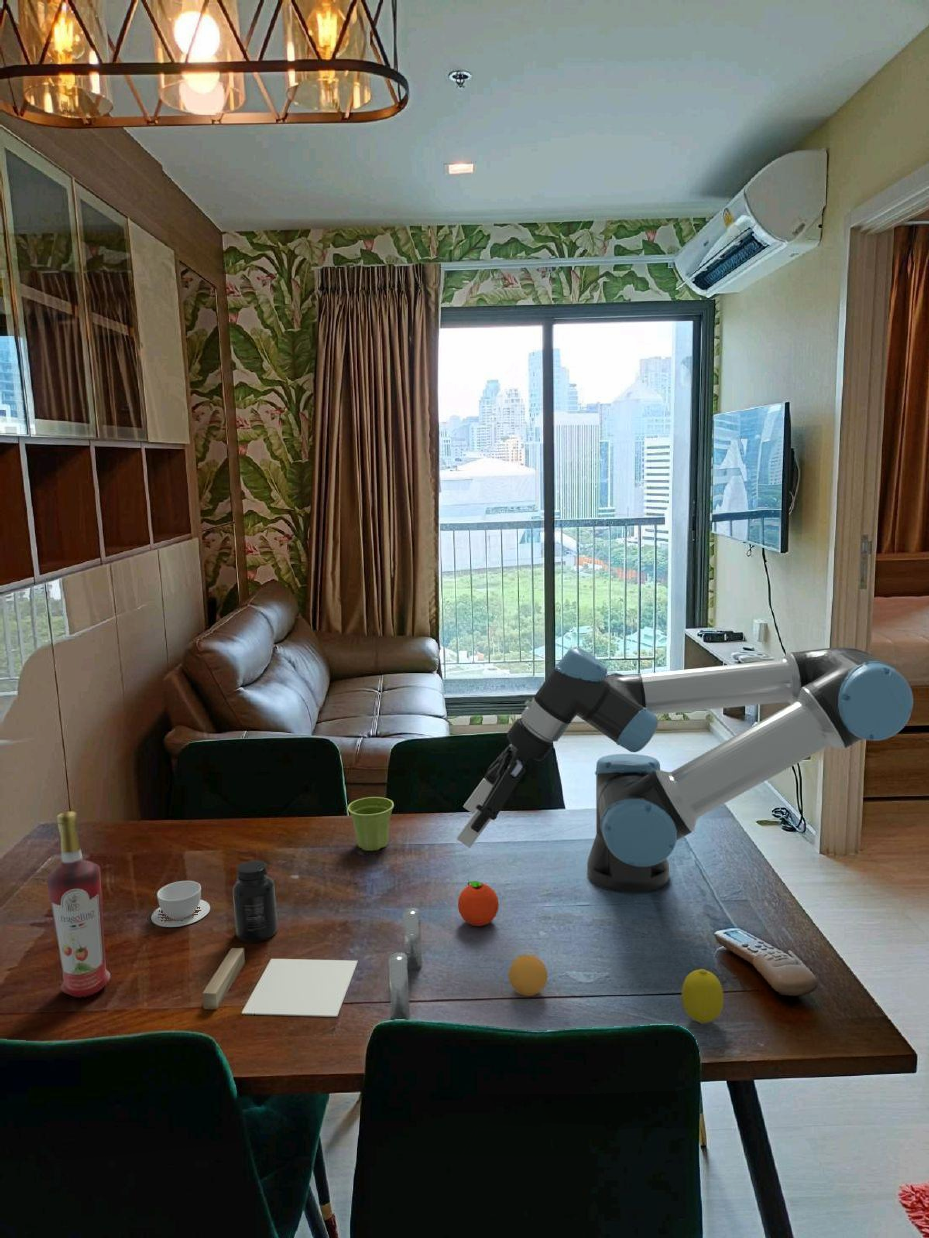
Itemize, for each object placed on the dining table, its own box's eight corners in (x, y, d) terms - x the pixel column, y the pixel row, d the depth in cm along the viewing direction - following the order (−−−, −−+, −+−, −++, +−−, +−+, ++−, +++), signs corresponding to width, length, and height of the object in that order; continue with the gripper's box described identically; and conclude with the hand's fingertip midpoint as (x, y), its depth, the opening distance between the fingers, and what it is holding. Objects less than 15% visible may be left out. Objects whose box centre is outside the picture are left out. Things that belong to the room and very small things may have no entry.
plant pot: (393, 854, 176) (391, 813, 174) (346, 855, 176) (344, 814, 174) (397, 835, 185) (395, 796, 183) (353, 836, 185) (351, 797, 184)
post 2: (423, 960, 137) (420, 907, 136) (420, 970, 135) (418, 916, 133) (406, 960, 137) (404, 907, 136) (404, 969, 135) (401, 916, 133)
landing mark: (357, 961, 138) (357, 960, 138) (337, 1016, 124) (337, 1015, 124) (271, 959, 139) (271, 958, 139) (241, 1013, 125) (241, 1012, 125)
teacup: (222, 907, 157) (220, 882, 156) (182, 934, 148) (180, 908, 147) (179, 897, 161) (177, 873, 160) (138, 922, 152) (136, 897, 151)
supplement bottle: (285, 925, 149) (280, 860, 147) (263, 946, 143) (258, 878, 141) (250, 920, 151) (245, 855, 149) (228, 940, 145) (222, 873, 143)
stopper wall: (245, 962, 138) (243, 948, 138) (217, 1008, 126) (215, 993, 126) (232, 962, 138) (231, 947, 138) (203, 1008, 127) (202, 992, 126)
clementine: (449, 915, 151) (448, 877, 150) (486, 906, 154) (485, 869, 152) (468, 937, 144) (467, 897, 142) (506, 927, 146) (505, 888, 145)
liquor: (59, 1008, 128) (38, 828, 123) (60, 982, 134) (40, 810, 130) (113, 995, 131) (94, 819, 126) (111, 970, 137) (93, 802, 132)
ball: (547, 981, 131) (546, 947, 130) (547, 1004, 125) (546, 968, 124) (510, 980, 131) (509, 946, 130) (508, 1003, 126) (507, 967, 125)
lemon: (675, 1012, 123) (676, 960, 121) (714, 1009, 123) (715, 957, 122) (689, 1037, 117) (690, 983, 116) (729, 1034, 118) (730, 979, 116)
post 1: (410, 1010, 125) (408, 952, 123) (408, 1021, 122) (405, 963, 121) (392, 1009, 125) (390, 952, 123) (389, 1021, 122) (386, 962, 121)
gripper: (520, 697, 159) (455, 787, 163) (517, 740, 134) (440, 844, 138) (554, 720, 159) (488, 809, 163) (557, 767, 134) (479, 870, 139)
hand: (466, 825), depth 151 cm, fingers open, 13 cm apart
